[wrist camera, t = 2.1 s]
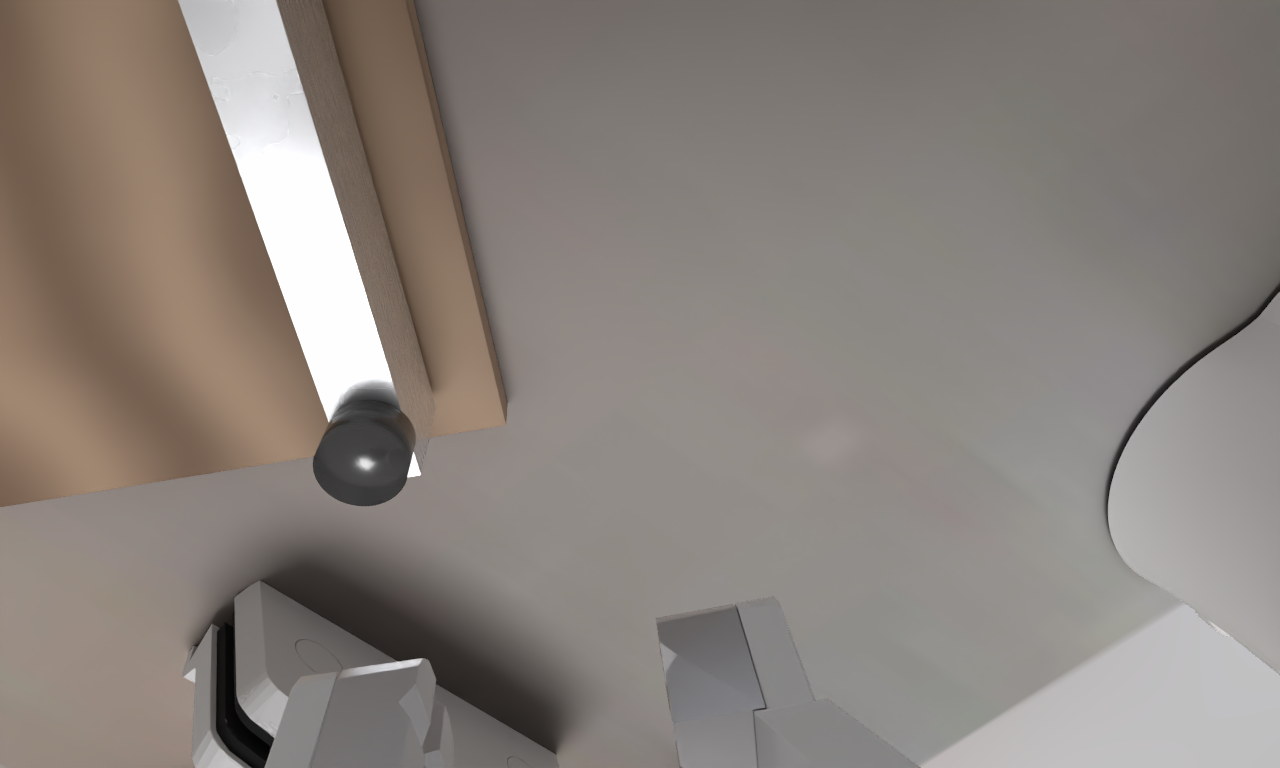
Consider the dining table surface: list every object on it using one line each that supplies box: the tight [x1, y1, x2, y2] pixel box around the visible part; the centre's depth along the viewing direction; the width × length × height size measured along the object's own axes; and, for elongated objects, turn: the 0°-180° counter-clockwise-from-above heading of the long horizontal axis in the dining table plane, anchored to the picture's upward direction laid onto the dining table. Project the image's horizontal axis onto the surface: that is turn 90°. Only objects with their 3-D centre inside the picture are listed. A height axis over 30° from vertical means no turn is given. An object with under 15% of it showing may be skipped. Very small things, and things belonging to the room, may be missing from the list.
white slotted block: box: [183, 580, 559, 768], centre depth 33 cm, size 17×5×10 cm, turn 43°
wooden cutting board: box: [0, 0, 507, 507], centre depth 24 cm, size 22×20×2 cm
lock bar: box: [178, 0, 436, 506], centre depth 21 cm, size 17×4×6 cm, turn 7°
